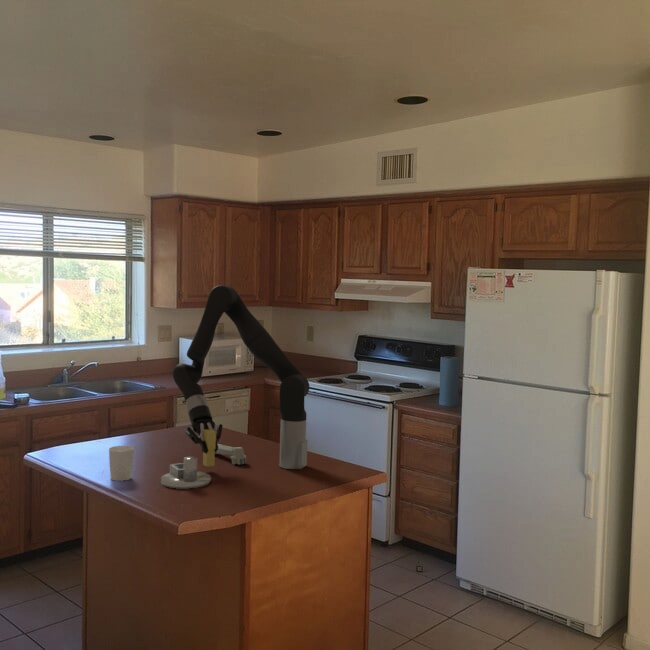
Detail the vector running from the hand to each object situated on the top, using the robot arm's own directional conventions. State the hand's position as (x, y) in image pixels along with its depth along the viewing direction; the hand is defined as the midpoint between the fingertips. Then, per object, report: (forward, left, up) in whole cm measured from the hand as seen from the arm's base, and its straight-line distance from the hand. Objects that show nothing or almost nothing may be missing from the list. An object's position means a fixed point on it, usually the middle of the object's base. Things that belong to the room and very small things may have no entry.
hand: (211, 451), depth 239 cm
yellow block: (+1, -1, -5) cm, 6 cm away
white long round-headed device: (+5, -21, -8) cm, 23 cm away
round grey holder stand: (+2, +13, -8) cm, 15 cm away
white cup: (+24, +18, -8) cm, 31 cm away
